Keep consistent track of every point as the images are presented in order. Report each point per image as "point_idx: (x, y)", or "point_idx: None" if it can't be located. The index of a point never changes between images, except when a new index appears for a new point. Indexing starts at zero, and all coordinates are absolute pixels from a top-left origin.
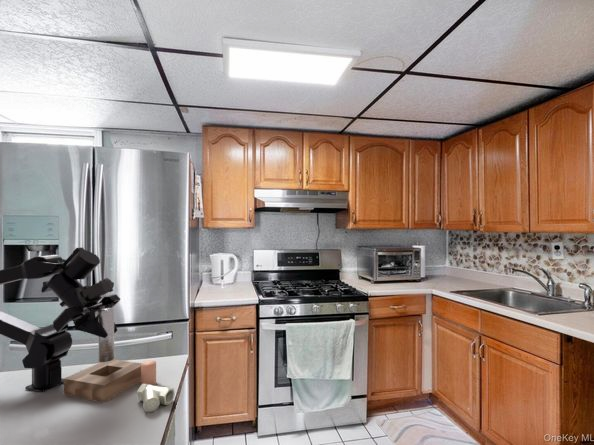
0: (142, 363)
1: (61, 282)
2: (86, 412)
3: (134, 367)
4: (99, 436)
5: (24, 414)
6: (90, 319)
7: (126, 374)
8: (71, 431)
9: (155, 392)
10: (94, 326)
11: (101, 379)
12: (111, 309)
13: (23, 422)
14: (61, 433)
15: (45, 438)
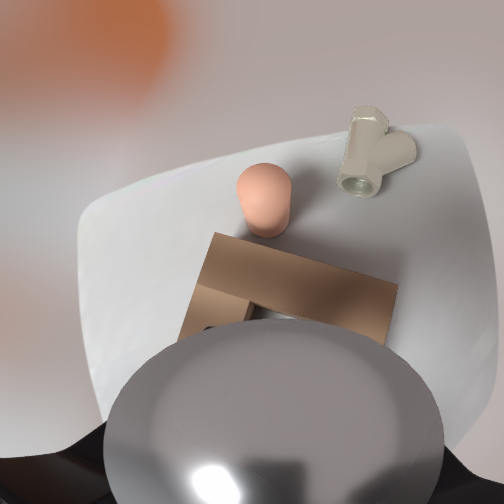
0: (266, 208)
1: None
2: (423, 307)
3: (250, 255)
4: (480, 217)
5: None
6: (474, 482)
7: (306, 258)
8: (480, 285)
9: (384, 137)
10: None
11: (356, 325)
12: (273, 371)
13: (450, 423)
14: (485, 301)
15: (496, 320)
